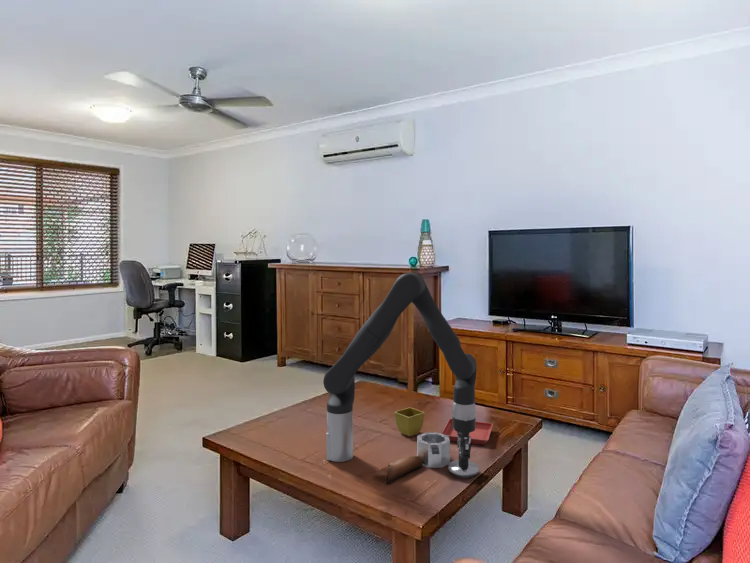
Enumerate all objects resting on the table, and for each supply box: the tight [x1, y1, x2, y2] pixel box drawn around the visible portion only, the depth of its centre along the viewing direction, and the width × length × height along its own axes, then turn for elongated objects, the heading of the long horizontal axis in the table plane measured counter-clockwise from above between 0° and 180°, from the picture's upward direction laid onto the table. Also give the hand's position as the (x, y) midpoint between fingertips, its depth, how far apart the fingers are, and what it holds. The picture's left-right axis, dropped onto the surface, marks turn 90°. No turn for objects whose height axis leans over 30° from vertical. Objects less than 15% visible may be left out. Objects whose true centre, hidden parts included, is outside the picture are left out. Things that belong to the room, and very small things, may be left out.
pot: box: [416, 431, 451, 469], centre depth 176 cm, size 11×17×8 cm, turn 179°
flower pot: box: [394, 406, 425, 437], centre depth 201 cm, size 9×9×9 cm
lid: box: [447, 450, 480, 479], centre depth 166 cm, size 10×10×8 cm
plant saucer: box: [441, 418, 494, 446], centre depth 199 cm, size 18×18×3 cm
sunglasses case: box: [371, 455, 423, 485], centre depth 168 cm, size 18×7×7 cm
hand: (463, 465), depth 166 cm, fingers closed on lid, 3 cm apart
